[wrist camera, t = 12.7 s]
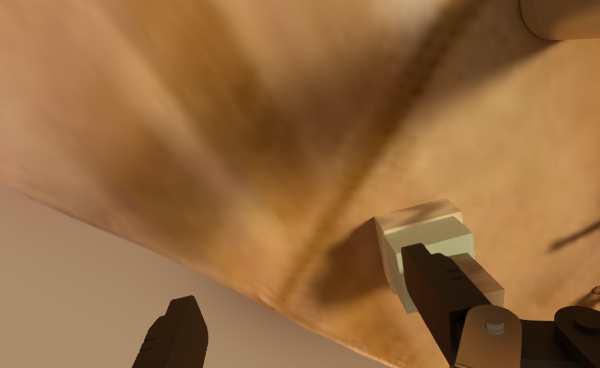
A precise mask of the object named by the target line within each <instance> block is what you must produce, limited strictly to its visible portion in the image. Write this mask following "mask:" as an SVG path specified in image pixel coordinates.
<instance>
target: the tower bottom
mask: <svg viewBox="0 0 600 368" xmlns="http://www.w3.org/2000/svg"><path fill="white" fill-rule="evenodd" d="M450 216H454V217H455V218H456V219H458V220H459V221H460V222H461V223H462V224H463V219H462V211H461V210H460V209H459V208H457V207H456V206H455V205H454V204H452V203H451V202H450V201H449V200H448V199H446V198H445V199H441V200H437V201H433V202H429V203H425V204H421V205H417V206H414V207H410V208H406V209H402V210H398V211H394V212H390V213H386V214H382V215H378V216H374V218H375V224H376V229H377V235H378V240H379V246H380V252H381V257H382V263H383V268H384V274H385V277H386V279H387V281H388V283H389V285H390V287H391V289H392V291H393V293H394V294H397V293H396V291H395V287H394V282H393V277H392V272H391V267H390V263H389V258H388V253H387V248H386V243H385V238H384V234H388V233H392V232H395V231H399V230H403V229H406V228H410V227H413V226H417V225H421V224H424V223H428V222H431V221H435V220H439V219H442V218H446V217H450Z"/></svg>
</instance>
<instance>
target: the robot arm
mask: <svg viewBox="0 0 600 368" xmlns="http://www.w3.org/2000/svg"><path fill="white" fill-rule="evenodd" d="M520 6H521V13H522V17H523V20H524V22H525V24H526V25H527V27H528V29H529V30H530V31H531V32H532V33H533V34H535V35H536V36H538V37H540V38H543V39H547V40H569V39H592V38H600V0H520ZM401 255H402V263H403V271H404V279H405V284H406V288H407V291H408V293H409V296H410V298H411V299H412V301H413V303H414V305H415V306H416V308H417V310H418V312H419V313H420V315H421V317H422V319H423V320H424V322H425V324H426V325H427V327H428V329H429V331H430V332H431V334H432V336H433V338H434V339H435V341H436V343H437V344H438V346H439V348H440V350H441V351H442V353H443V355H444V357H445V358H446V360H447V362H448V364H449V365H450V367H449V368H600V311H597V310H594V309H591V308H587V307H581V306H568V307H564V308H561V309H559V310H558V311H557V312H556V313H555V316H554V321H533V320H522V319H519V318H518V317H517V316H516V315H515V314H514V313H512V312H511V311H509V310H507V309H505V308H503V307H500V306H496V305H492V303H491V302H490V301H489V300H488V299H487V298H486V297H485V296H484V294H483V293H482V292H481V291H480V290H479V289H478V288H477V287H476V286H475V284H474V283H473V282H472V281H471V280H470V279H469V278H467V275H466V274H465V273H464V272H463V271H462V270H460V268H459V266H458V265H457V264H456V263H455V262H454V261H453V260H452V259H451V258H449V257H447V256H445V255H443V254H441V253H435V254H431V253H430V252H429V251H428V250H427V248H426V247H425V246H424V245H423V244H422V243H417V244H413V245H408V246H404V247H402V248H401ZM207 346H208V330H207V326H206V324H205V321H204V319H203V316H202V314H201V311H200V309H199V306H198V304H197V302H196V299H195V297H194V296H192V295H191V296H186V297H182V298H178V299H173V300H172V301H171V302H170V304H169V307H168V309H167V312H166V314H165V316H161V317H159V318H158V319H157V320H156V321H155V322H154V324H153V325H152V326H151V327H150V328H149V330H148V333H147V335H146V337H145V339H144V343H143V344H142V346H141V348H140V353H138V355H137V357H136V360H135V362H134V364H133V366H132V368H203V364H204V359H205V355H206V350H207Z"/></svg>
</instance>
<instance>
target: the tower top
mask: <svg viewBox="0 0 600 368" xmlns="http://www.w3.org/2000/svg"><path fill="white" fill-rule="evenodd" d="M384 238H385V243H386V248H387V253H388V258H389V263H390V267H391V272H392V277H393V282H394V287H395V291H396V293H397V295H398V297H399V299H400V301H401V303H402V304H403V306H404V308H405V310H406V312H407V314H409V313H413V312H417V311H418V310H417V308H416V306H415V305H414V303H413V301H412V299H411V298H410V296H409V293H408V291H407V288H406V284H405V279H404V271H403V263H402V255H401V248H402V247H404V246H408V245H413V244H417V243H422V244H423V245H424V246H425V247H426V248H427V250H428V251H429V252H430V253H431V254H435V253H441V254H443V255H445V256H451V255H457V254H462V253H468V254H469V255H470V256H471V257H472V258H473V259H474V260H475V252H474V241H473V233H472V232H471V231H470V230H469V229H468V228H467V227H466V226H464V225H463V224H462V223H461V222H460V221H459V220H458V219H456V218H455V217H454V216H450V217H446V218H442V219H439V220H435V221H431V222H428V223H424V224H421V225H417V226H413V227H410V228H406V229H403V230H399V231H395V232H392V233H388V234H384Z"/></svg>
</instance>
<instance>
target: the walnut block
mask: <svg viewBox="0 0 600 368" xmlns="http://www.w3.org/2000/svg"><path fill="white" fill-rule="evenodd" d="M447 257H449V258H451V259H452V260H453V261H454V262H455V263H456V264H457V265H458V266H459V268H460V270H462V271H463V272H464V273H465V274H466V275H467V278H469V279H470V280H471V281H472V282H473V283H474V284H475V286H476V287H477V288H478V289H479V290H480V291H481V292H482V293H483V294H484V296H485V297H486V298H487V299H488V300H489V301H490V302H491V303H492V305H496V306H500V307H503V303H504V288H503V287H502V286H501V285H500V284H499V283H498V282H497V281H495V280H494V279H493V278H492V277H491V276H490V275H489V274H488V273H487V272H486V271H485V270H484V269H483V268H482V267H481V266H480V265H479V264H478V263H477V262H476V261H475V260H474V259H473V258H472V257H471V256H470V255H469V254H468V253H462V254H457V255H451V256H447Z"/></svg>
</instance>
